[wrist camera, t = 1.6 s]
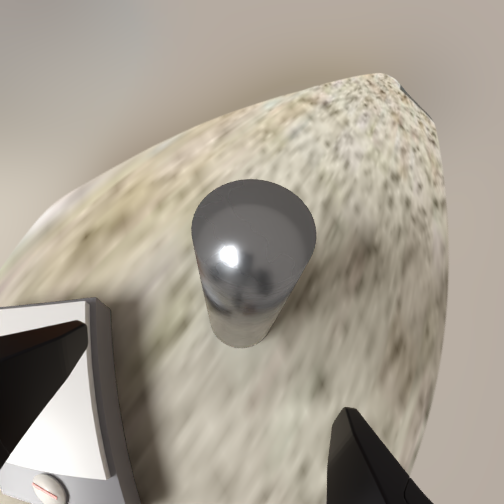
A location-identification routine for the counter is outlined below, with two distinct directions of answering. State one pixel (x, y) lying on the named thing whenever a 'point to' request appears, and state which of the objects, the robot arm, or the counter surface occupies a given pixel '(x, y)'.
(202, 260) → the steel weight
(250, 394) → the counter surface
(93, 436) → the kitchen scale
